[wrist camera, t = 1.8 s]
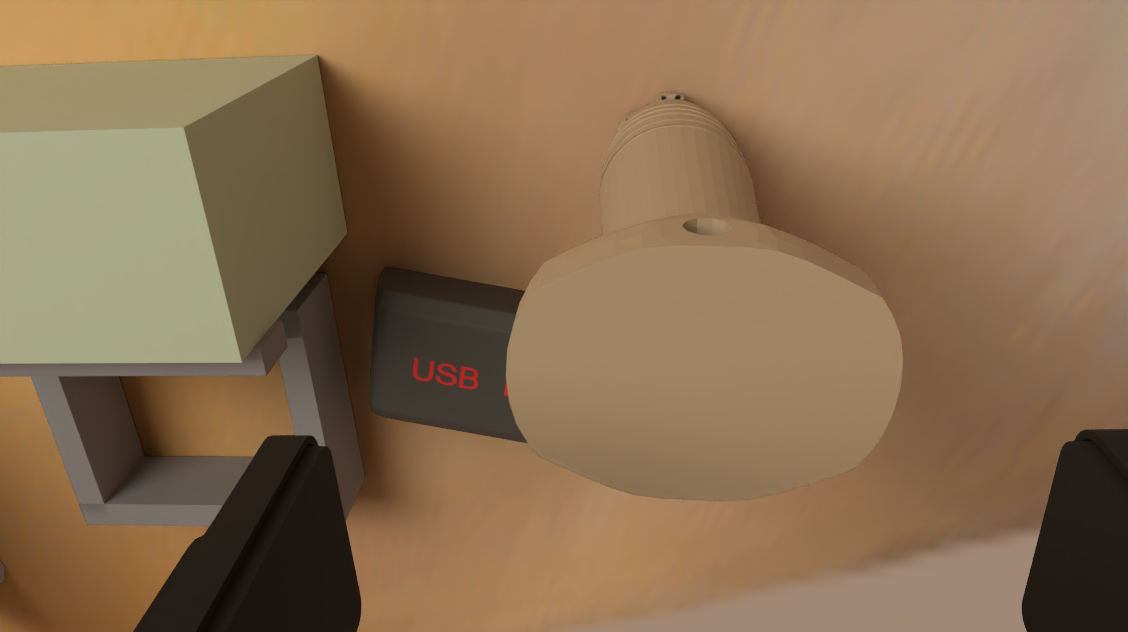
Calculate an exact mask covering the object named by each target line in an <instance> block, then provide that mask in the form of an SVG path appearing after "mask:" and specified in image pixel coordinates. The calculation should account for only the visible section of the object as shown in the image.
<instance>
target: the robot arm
mask: <svg viewBox="0 0 1128 632" xmlns="http://www.w3.org/2000/svg"><path fill="white" fill-rule="evenodd" d="M360 616H361V596H360V591H359V586H358V581H357V576H356V571H355V566H354V561H353V556H352V551H351V546H350V541H349V537H348V532H347V527H346V522H345V517H344V512H343V507H342V502H341V497H340V492H339V487H338V482H337V477H336V472H335V467H334V462H333V457H332V454H331V451H330V449H329V447H327V446H319V445H318V442H317V440H316V439H315V437H313V436H311V435H280V436H269V437H267V438H266V439H265V441H264V442H263V443H262V445H261V447H260V448H259V450H258V451H257V453H256V454H255V456H254V457H253V459H252V461H251V462H250V464H249V465H248V467H247V468H246V470H245V472H244V473H243V475H242V476H241V478H240V479H239V481H238V483H237V484H236V486H235V487H234V489H233V490H232V492H231V494H230V495H229V497H228V498H227V500H226V501H225V503H224V504H223V506H222V508H221V509H220V511H219V512H218V514H217V515H216V517H215V519H214V520H213V522H212V523H211V525H210V526H209V528H208V530H207V531H206V533H205V534H204V535H203V536H201V537H199V538H197V539H195V540H194V541H193V543H192V544H191V545H190V546H189V547H188V548H187V550H186V551H185V553H184V555H183V556H182V558H181V559H180V561H179V562H178V564H177V565H176V567H175V568H174V570H173V571H172V573H171V575H170V576H169V578H168V579H167V581H166V582H165V584H164V585H163V587H162V588H161V590H160V591H159V593H158V595H157V596H156V598H155V599H154V601H153V602H152V604H151V605H150V607H149V608H148V610H147V611H146V613H145V615H144V616H143V618H142V619H141V621H140V622H139V624H138V625H137V627H136V628H135V630H134V631H133V632H357V629H358V626H359V622H360ZM1022 616H1023V621H1024V625H1025V628H1026V630H1027V632H1128V429H1100V430H1084V431H1081V432H1080V433H1079V434H1078V435H1077V436H1076V439H1075V441H1069V442H1067V443H1065V444H1064V445H1063V447H1062V449H1061V452H1060V456H1059V460H1058V463H1057V467H1056V471H1055V475H1054V479H1053V483H1052V487H1051V491H1050V495H1049V499H1048V503H1047V506H1046V510H1045V514H1044V518H1043V522H1042V526H1041V530H1040V534H1039V538H1038V542H1037V546H1036V550H1035V554H1034V557H1033V562H1032V565H1031V569H1030V573H1029V577H1028V581H1027V585H1026V588H1025V593H1024V597H1023V601H1022Z"/></svg>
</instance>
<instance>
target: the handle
mask: <svg viewBox="0 0 1128 632" xmlns="http://www.w3.org/2000/svg"><path fill="white" fill-rule="evenodd" d="M599 207H600V219H601V231H602V236H600V237H597V238H595V239H592V240H590V241H587V242H585V243H583V244H581V245H578V246H576V247H574V248H572V249H569V250H567V251H565V252H563V253H561V254H559V255H557V256H555V257H553V258H551V259H549V260H547V261H545V262H544V263H543V264H542V266H541V267H540V269H539V270H538V271H537V273H536V274H535V275H534V277H533V278H532V280H531V282H530V284H529V286H528V287H527V289H526V291H525V293H524V295H523V297H522V299H521V301H520V303H519V307H518V310H517V313H516V317H515V320H514V324H513V328H512V332H511V336H510V340H509V344H508V348H507V363H506V381H507V389H508V397H509V403H510V406H511V409H512V412H513V415H514V418H515V421H516V424H517V426H518V428H519V429H520V431H521V433H522V434H523V436H524V438H525V439H526V441H527V442H528V444H529V445H530V446H531V447H532V449H533V450H534V451H535V452H536V454H537V455H538V456H539V457H540V458H542V459H545V460H547V461H549V462H551V463H554V464H556V465H558V466H560V467H562V468H565V469H567V470H569V471H571V472H574V473H576V474H578V475H581V476H583V477H585V478H588V479H590V480H593V481H595V482H597V483H600V484H602V485H605V486H607V487H610V488H613V489H616V490H620V491H623V492H626V493H629V494H633V495H638V496H646V497H653V498H661V499H682V500H704V501H738V500H751V499H756V498H760V497H765V496H770V495H775V494H778V493H782V492H785V491H788V490H792V489H795V488H798V487H802V486H805V485H808V484H811V483H814V482H817V481H820V480H823V479H826V478H829V477H833V476H836V475H839V474H842V473H845V472H848V471H851V470H852V469H853V468H854V467H855V466H857V465H858V464H859V463H860V462H861V461H862V460H863V459H864V458H865V457H866V456H867V455H868V454H869V453H870V451H871V450H872V449H873V448H874V446H875V445H876V444H877V443H878V442H879V440H880V439H881V438H882V436H883V434H884V432H885V430H886V428H887V426H888V424H889V422H890V420H891V418H892V416H893V413H894V409H895V406H896V403H897V399H898V396H899V393H900V388H901V379H902V370H903V354H902V342H901V336H900V333H899V330H898V328H897V325H896V322H895V319H894V317H893V315H892V313H891V311H890V310H889V308H888V306H887V304H886V302H885V301H884V299H883V297H882V295H881V294H880V292H879V290H878V289H877V287H876V285H875V284H874V282H873V281H872V279H871V278H870V276H869V275H868V274H867V273H866V272H865V271H864V270H862V269H860V268H858V267H857V266H855V265H853V264H851V263H849V262H848V261H846V260H844V259H842V258H840V257H838V256H836V255H834V254H833V253H831V252H829V251H827V250H825V249H823V248H821V247H819V246H817V245H815V244H812V243H810V242H808V241H806V240H804V239H801V238H799V237H797V236H795V235H792V234H790V233H787V232H784V231H781V230H778V229H775V228H773V227H770V226H767V225H764V224H760V220H759V214H758V209H757V203H756V197H755V192H754V186H753V181H752V177H751V175H750V172H749V169H748V166H747V163H746V161H745V158H744V156H743V154H742V152H741V150H740V148H739V146H738V144H737V143H736V141H735V140H734V138H733V137H732V135H731V134H730V133H729V131H728V130H727V129H726V128H725V126H724V125H723V124H722V123H721V122H720V121H719V120H718V118H717V117H716V116H714V115H713V114H711V113H710V112H708V111H707V110H705V109H704V108H702V107H701V106H699V105H696V104H694V103H691V102H688V101H687V100H686V99H685V97H684V96H683V94H682V93H679V92H675V91H666V92H662V93H660V94H659V96H658V98H657V99H656V100H655V101H654V102H653V103H650V104H647V105H645V106H644V107H642V108H640V109H639V110H637V111H635V112H628V113H627V114H626V115H625V116H624V117H623V119H622V120H621V122H620V124H619V127H618V129H617V133H616V135H615V137H614V138H613V140H612V143H611V145H610V147H609V149H608V152H607V155H606V158H605V161H604V165H603V168H602V173H601V182H600V193H599Z"/></svg>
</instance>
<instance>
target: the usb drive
mask: <svg viewBox="0 0 1128 632" xmlns="http://www.w3.org/2000/svg"><path fill="white" fill-rule="evenodd" d="M524 293H525V291H522V290H517V289H511V288H506V287H500V286H494V285H489V284H483V283H477V282H472V281H466V280H460V279H455V278H449V277H444V276H438V275H432V274H427V273H421V272H415V271H410V270H404V269H398V268H392V267H385V268H384V270H383V271H382V273H381V275H380V277H379V281H378V287H377V293H376V299H375V312H374V327H373V342H372V357H371V372H370V387H369V402H370V407H371V410H372V411H373V412H374V413H375V414H377V415H380V416H383V417H386V418H391V419H396V420H401V421H406V422H412V423H417V424H423V425H429V426H434V427H440V428H446V429H451V430H457V431H463V432H468V433H474V434H480V435H485V436H491V437H496V438H502V439H508V440H513V441H519V442H525V443H528V442H527V441H526V439H525V438H524V436H523V434H522V433H521V431H520V429H519V428H518V426H517V424H516V421H515V418H514V415H513V412H512V409H511V406H510V403H509V397H508V389H507V381H506V363H507V348H508V344H509V340H510V336H511V332H512V328H513V324H514V320H515V317H516V313H517V310H518V307H519V303H520V301H521V299H522V297H523V295H524Z"/></svg>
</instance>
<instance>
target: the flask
mask: <svg viewBox="0 0 1128 632" xmlns="http://www.w3.org/2000/svg"><path fill="white" fill-rule="evenodd" d="M3 580H4V565H3V564H2V562H1V561H0V584H1V582H2V581H3Z"/></svg>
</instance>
